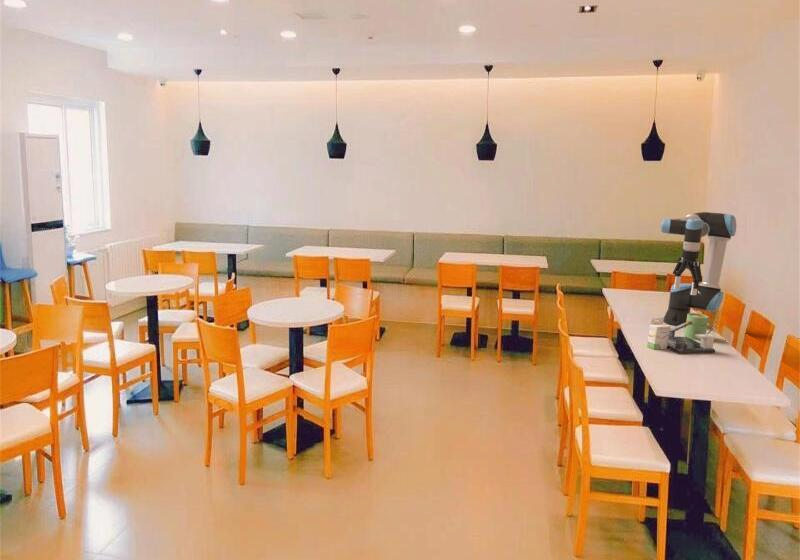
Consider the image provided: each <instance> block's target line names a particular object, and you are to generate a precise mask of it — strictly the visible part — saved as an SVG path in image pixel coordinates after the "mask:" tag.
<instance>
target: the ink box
mask: <svg viewBox="0 0 800 560" xmlns="http://www.w3.org/2000/svg"><path fill="white" fill-rule="evenodd" d="M663 320H664V317H654V318H653V317H652V318H651V321H650V324H649V330H648V338H647V339H648V340H647V344H646V347H647V348H650V349H652V350H662V349H664V350H665V349H668V348H667V344H668V337H669V330H670V329H671V326H670V324H667V323H664V322H663Z"/></svg>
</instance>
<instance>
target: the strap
mask: <svg viewBox="0 0 800 560" xmlns="http://www.w3.org/2000/svg"><path fill="white" fill-rule="evenodd" d="M692 323H693V321H687V322H685V323H683V324H681V325H679V326H674V327H672V329H671V328H670V330H669V333H672V332H674V331H675V332H676V331H679V330H681V329H683V328H685V327H686V326H688V325H690V324H692Z"/></svg>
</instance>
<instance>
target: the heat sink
mask: <svg viewBox="0 0 800 560" xmlns="http://www.w3.org/2000/svg"><path fill="white" fill-rule="evenodd" d="M683 337H684V336H674V337H668V343H670V344H672V345H674V346H684V344H685V343H689V340H687V339H685V338H683Z"/></svg>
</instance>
